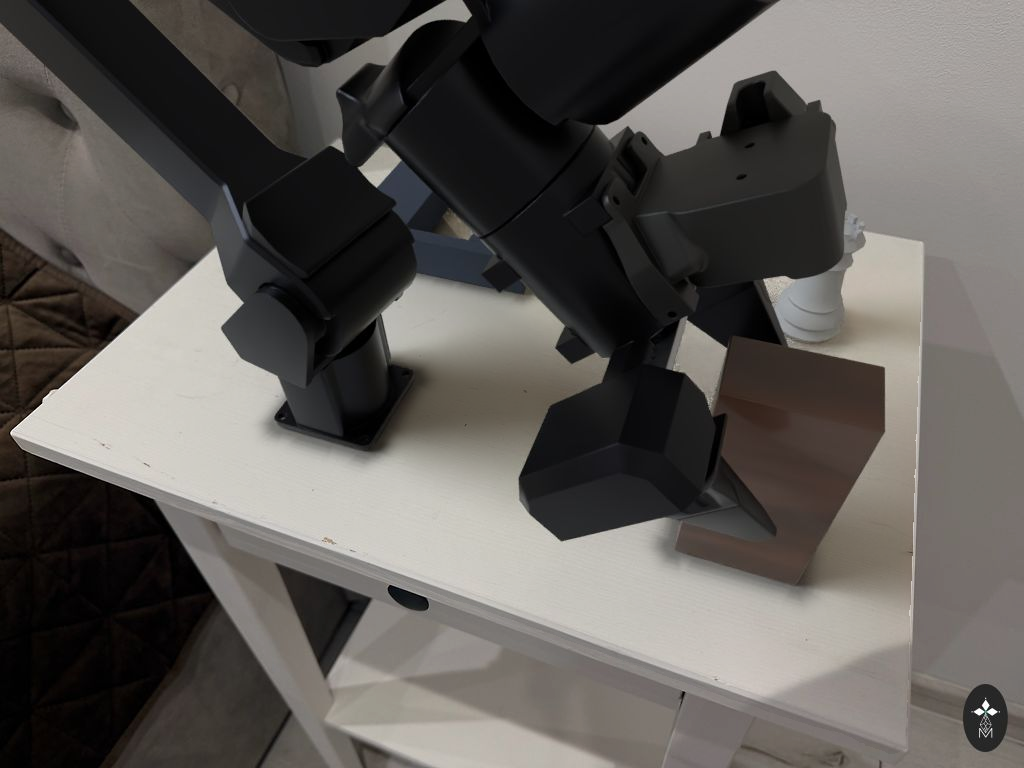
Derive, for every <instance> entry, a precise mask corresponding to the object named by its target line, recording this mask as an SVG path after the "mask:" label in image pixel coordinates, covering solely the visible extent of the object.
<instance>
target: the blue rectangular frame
mask: <svg viewBox="0 0 1024 768" xmlns="http://www.w3.org/2000/svg"><path fill="white" fill-rule="evenodd" d="M376 188H378V189H379V190H380V191H381V192H383V193H384V194H386V195H388V196H389V197H391V198H393V199H394V200H395V201H396V203H397V205H396V206H395V207H394V208H392V209H393V210H394V211H395V212H396V213H397V214H398V215H399V216H400V217H401V218H402V220H403V221H404V222H405V223H406V225H407V226H408V228H409V229H410V231H411V233H412V234H413V236H414V239H415V244H414V245H413V248H414V252H415V256H416V259H417V274H418V273H419V274H422V275H423V274H424V275H428V276H433V277H438V278H442V279H447V280H452V281H456V282H462V283H467V284H471V285H475V286H479V287H484V288H485V287H486V288H490V289H494V290H496V289H495V288H494V287H493V286H492V285H491V284H490V283H489V282H488V281H487V280H486V279H485V278H484V277H483V276H482V275H481V273H482V272H483V270H484V268H485V267H486V265H487V264H488V262H489V260H490V259H491V257H492V255H493V253H492V252H491V251H490V250H489V248H488V247H487V246H486V245H485V244H484V243H483V242H482V241H481V240H480V239H479V238H478V237H477V236H476V235H475V234H474V233H473V232H472V233H471V235H470V237H469V238H468V239H466V238H460V237H455V236H450V235H445V234H441V233H435V232H433V230H434V229H435V227H436V226H437V224H438V223H439V222H440V221H441V219H442V218H443V217H444V215H445V214H446V213H447V211H448V210H449V208H448V207H447V206H446V205H445V204H444V203H443V202H442V201H441V200H440V199H439V198H438V197H437V196H436V195H435V194H434V192H433V191H432V190H431V189H430V188H429V187H428V186H427V185H426V184H425V183H424V182H423V181H422V180H421V179H420V178H419V177H418V176H417V175H416V174H415V173H414V172H413V171H412V170H411V169H410V168H409V167H408V166H407V165H406V164H405V163H404V162H403V161H402V160H401V159H400V161H399V162H398V164H397V165H395V167H394V168H393V169H392V170H391V171H390V172H389V174H387V176H386V177H385V178H384V179H383V180H382V181H381V183H379V184H378V186H376ZM527 289H528V288H527V287H526V286H525V285H524V284H523V283H522V282H521V281H520V280H519V281H517V282H516V283H514V284H513V285H511V286H510V287H508V288H506V289H505V290H503V291H505V292H509V293H514V294H519V295H524V293H525V291H526V290H527Z"/></svg>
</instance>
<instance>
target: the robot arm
mask: <svg viewBox="0 0 1024 768" xmlns="http://www.w3.org/2000/svg"><path fill="white" fill-rule="evenodd" d="M207 1H208V2H209V3H210V4H212V5H213V6H214V7H216V8H217V9H218V10H219V11H221V13H223V14H225V15H226V16H227V17H228V18H229V19H231V20H232V21H233V22H235V23H236V24H237V25H238V26H239V27H240V28H242V29H243V30H244V31H246V32H247V33H249V35H251V36H252V37H254V38H255V39H256V40H258V41H259V42H260V43H261V44H262V45H264V46H265V47H266V48H268V49H269V50H270V51H271V52H272V53H274V54H276V55H277V56H278V57H280V58H282V59H284V60H286V61H288V62H290V63H293V64H295V65H298V66H301V67H305V68H319V67H322V66H323V65H326V64H331V63H332V62H334V61H336V60H338V59H339V58H341V57H343V56H344V55H346V54H348V53H350V52H351V51H353V50H355V49H356V48H359V47H360V46H362V45H364V44H365V43H367V42H369V41H371V40H373V39H374V38H384V37H385V36H387V35H389V34H391V33H392V32H395V31H396V30H398V29H400V28H401V27H403V26H405V25H406V24H408V23H409V22H411V21H414V20H415V19H417V18H418V17H420V16H422V15H423V14H425V13H427V12H429V11H431V10H432V9H434V8H436V7H437V6H439V5H442V4H443V3H445V2H447V0H207ZM461 1H462V2H463V3H464V5H465V7H466V9H467V10H468V11H469V14H470V15H471V16H470V17H469V18H468V19H467V20H466V21H462V20H457V19H450V18H447V19H446V18H445V19H443V18H442V19H436V20H432V21H429V22H426V23H423V24H421V25H420V26H419V27H418V28H416V29H414V30H413V32H412V33H411V34H409V36H408V37H407V39H406V40H405V41H404V43H403V44H402V45H401V46H400V48H399V49H398V50H397V51H396V53H395V54H394V55H393V57H392V58H391V59H390V61H389V62H388V63H387V64H386V65H385V64H377V63H373V62H366V63H364V64H363V65H362V66H361V67H360V68H359V69H358V70H356V71H355V72H354V73H353V74H352V75H351V76H350V77H349V78H347V80H345V81H344V82H343V83H342V84H341V85H340V86H339V87H338V88H337V89H336V90H335V97H336V100H337V103H338V105H339V109H340V112H341V120H342V121H341V122H342V130H341V144H342V148H343V151H342V150H340V149H338V148H336V147H335V146H333V145H327V146H325V147H324V148H322V149H321V150H320V151H317V152H316V153H314V155H312V156H311V157H306V156H304V155H301V154H297V153H294V152H291V151H288V150H285V149H283V148H281V147H279V146H278V145H277V144H276V143H275V142H274V141H272V139H270V138H269V137H268V136H267V135H266V134H265V133H264V132H263V131H262V130H261V129H260V128H259V127H258V126H257V125H256V124H255V123H254V122H253V121H252V120H251V118H250V117H248V116H247V114H245V113H244V112H243V111H242V110H241V109H240V108H239V107H238V106H237V105H236V104H235V102H233V100H231V99H230V98H229V97H228V95H226V94H225V93H224V92H223V91H222V90H221V89H220V87H218V86H217V85H216V83H214V82H213V81H212V79H210V78H209V77H208V76H207V75H206V73H204V72H203V71H202V70H201V69H200V68H199V66H197V65H196V64H195V63H194V62H193V61H192V59H190V58H189V56H187V55H186V54H185V53H184V52H183V50H181V49H180V48H179V47H178V46H177V45H176V44H175V42H173V41H172V39H170V38H169V37H168V36H167V35H166V34H165V33H164V32H163V31H162V30H161V29H160V28H159V27H158V25H156V24H155V23H154V22H153V21H152V20H151V19H150V17H148V16H147V15H146V14H145V13H144V12H143V11H142V9H140V8H139V7H138V6H137V5H136V4H135V3H134V2H133V1H132V0H0V25H2V26H3V27H4V28H5V29H6V30H7V31H8V32H9V33H10V34H11V35H12V36H13V37H14V38H15V39H16V40H17V41H18V42H20V44H22V45H23V47H25V48H26V50H28V51H29V52H30V53H31V54H32V55H33V56H34V57H35V58H36V59H37V60H38V61H39V62H40V63H41V64H42V65H44V66H45V68H47V69H48V70H49V71H50V72H51V73H52V74H53V75H54V76H55V77H57V79H58V80H59V81H60V82H61V83H62V84H64V86H66V88H68V90H69V91H70V92H72V93H73V94H74V95H75V96H76V97H77V98H78V99H79V100H80V101H81V102H82V103H83V104H84V105H85V106H86V107H88V108H89V109H90V110H91V111H92V112H93V113H94V114H95V115H96V117H98V118H99V119H100V120H101V121H102V122H103V123H104V124H105V125H106V126H108V127H109V128H110V129H111V130H112V131H113V132H114V133H115V134H116V135H117V136H118V137H119V138H120V139H121V140H122V141H123V142H124V143H125V144H126V145H128V147H130V148H131V150H132V151H133V152H135V153H136V155H138V156H139V157H140V158H141V159H142V160H143V161H144V162H145V163H146V164H147V165H148V166H149V167H151V169H153V170H154V171H155V173H156V174H158V175H159V176H160V177H161V178H162V179H163V180H164V181H165V182H166V183H167V184H168V185H169V186H171V188H172V189H174V190H175V192H177V193H178V194H179V195H180V196H181V197H182V198H183V199H184V200H185V201H186V202H187V203H188V205H191V207H192V208H193V209H194V210H195V211H197V213H199V214H200V215H201V216H202V217H203V219H204V220H205V221H206V222H207V223H208V224H209V225H210V229H211V231H212V236H213V239H214V243H215V246H216V251H217V254H218V257H219V261H220V264H221V265H220V266H221V268H222V272H223V275H224V279H225V282H226V284H227V286H228V287H229V289H230V290H231V291H232V292H233V293H234V294H235V295H236V296H237V297H238V298H239V300H240V301H241V302H242V304H241V305H240V306H239V307H238V308H237V309H236V310H235V312H234V313H233V314H231V315H230V317H229V318H228V319H227V320H226V321H225V322H224V323H223V324H222V325H221V327H220V330H221V332H222V334H223V335H224V337H225V338H226V339H227V341H228V342H229V344H230V345H231V347H232V348H233V349H234V351H235V352H236V354H237V355H238V357H239V358H240V359H241V360H242V361H244V362H247V363H249V364H251V365H253V366H254V367H257V368H259V369H262V370H263V371H265V372H268V373H270V374H273V375H274V376H277V379H278V381H279V383H280V386H281V388H282V391H283V393H284V396H285V398H286V400H284V402H283V404H282V405H281V406H280V407H279V409H278V410H277V411H276V413H275V414H274V421H275V424H276V425H277V426H278V427H280V428H284V429H288V430H291V431H294V432H298V433H301V434H304V435H308V436H312V437H315V438H318V439H322V440H326V441H328V442H333V443H336V444H339V445H343V446H347V447H350V448H353V449H357V450H360V451H368V450H370V449H371V448H372V447H373V446H374V445H375V443H376V442H377V440H378V438H379V436H380V435H381V433H382V432H383V431H384V428H385V427H386V425H387V424H388V422H389V421H390V419H391V417H392V416H393V414H394V413H395V411H396V409H397V407H398V406H399V404H400V403H401V401H402V400H403V398H404V396H406V393H407V392H408V390H409V389H410V387H411V385H412V384H413V382H414V380H415V375H414V371H413V370H412V369H411V368H408V367H404V366H400V365H396V364H392V362H391V360H392V355H391V350H390V346H389V341H388V338H387V332H386V329H385V324H384V319H383V315H382V313H384V312H385V311H386V310H387V309H388V308H389V307H390V306H391V305H392V304H393V303H394V302H397V301H398V300H400V298H401V297H403V295H404V292H405V291H406V290H407V289H408V288H410V286H411V285H413V283H414V280H415V278H416V277H417V274H418V272H417V259H416V256H415V252H414V248H413V245H414V244H415V239H414V236H413V234H412V233H411V231H410V229H409V228H408V226H407V225H406V223H405V222H404V221H403V220H402V218H401V217H400V216H399V215H398V214H397V213H396V212H395V211H394V210H393V209H392V208H394V207H395V206H396V205H397V203H396V201H395V200H394V199H393V198H391V197H389V196H388V195H386V194H384V193H383V192H381V191H380V190H379V189H378V188H377V186H375V185H374V183H372V182H371V181H370V180H369V179H368V178H367V177H366V176H365V175H364V174H363V173H362V171H361V170H360V168H361V167H363V166H364V164H366V163H367V161H369V160H370V158H371V157H372V156H374V154H375V153H376V152H377V151H378V150H379V149H380V148H381V147H382V146H383V145H384V144H385V145H386V147H388V148H389V149H390V150H391V151H392V152H393V153H394V155H396V156H397V158H399V159H400V161H401V160H402V161H403V162H404V163H405V164H406V165H407V166H408V167H409V168H410V169H411V170H412V171H413V172H414V173H415V174H416V175H417V176H418V177H419V178H420V179H421V180H422V181H423V182H424V183H425V184H426V185H427V186H428V187H429V188H430V189H431V190H432V191H433V192H434V194H435V195H436V196H437V197H438V198H439V199H440V200H441V201H442V202H443V203H444V204H445V205H446V206H447V207H448V210H450V211H451V212H452V213H453V214H454V215H455V216H456V217H457V218H458V219H459V220H460V221H461V222H462V223H463V224H464V225H465V226H466V227H467V228H468V229H469V230H470V231H471V232H472V234H473V233H474V234H475V235H476V236H477V237H478V238H479V239H480V240H481V241H482V242H483V243H484V244H485V245H486V246H487V247H488V248H489V250H490V251H491V252H492V253H493V255H492V257H491V259H490V260H489V262H488V264H487V265H486V267H485V268H484V270H483V272H482V273H481V275H482V276H483V277H484V278H485V279H486V280H487V281H488V282H489V283H490V284H491V285H492V286H493V287H494V288H495V289H494V288H493V289H494V290H495V291H497V293H499V294H501V293H502V292H503V291H504V290H505V289H506V288H508V287H510V286H511V285H513V284H514V283H516V282H517V281H519V280H520V281H521V282H522V283H523V284H524V285H525V286H526V287H527V288H526V289H527V290H528V291H530V293H532V294H533V296H535V297H536V299H537V300H538V301H539V302H541V304H542V305H544V307H545V308H546V309H547V310H548V311H549V312H550V313H551V314H552V315H553V316H554V317H555V318H556V319H557V320H558V321H559V322H560V323H561V324H562V325H563V329H562V330H561V333H560V334H559V337H558V340H557V341H556V344H555V346H554V349H555V350H556V351H557V352H558V353H559V354H560V355H561V356H562V357H563V358H564V359H565V360H566V361H567V362H568V363H569V364H570V365H574V364H577V363H579V362H580V361H582V360H584V359H586V358H588V357H590V356H592V355H594V354H597V355H598V356H599V357H600V358H601V359H609V361H608V363H607V367H606V368H605V371H604V374H603V376H602V379H601V382H599V383H597V384H595V385H593V386H590V387H588V388H586V389H583V390H581V391H579V392H577V393H575V394H572V395H570V396H567V397H565V398H563V399H561V400H559V401H556V402H554V403H552V404H549V406H548V408H547V410H546V412H545V415H544V417H543V419H542V422H541V424H540V426H539V429H538V431H537V433H536V436H535V439H534V441H533V443H532V445H531V448H530V450H529V452H528V455H527V457H526V460H525V462H524V464H523V467H522V468H521V471H520V473H519V475H518V478H517V480H518V500H519V502H520V503H521V504H522V506H523V508H524V510H525V511H526V512H527V513H528V514H529V516H531V518H533V519H534V520H535V521H536V522H538V523H539V524H540V525H541V526H543V527H544V529H546V530H547V531H548V532H549V533H551V534H552V535H553V536H554V537H555V538H556V539H557V540H559V541H560V542H566V541H570V540H574V539H579V538H582V537H587V536H592V535H595V534H599V533H600V534H601V533H603V532H608V531H609V532H610V531H612V530H617V529H621V528H624V527H629V526H634V525H638V524H642V523H646V522H650V521H656V520H658V519H663V518H666V519H670V520H674V521H675V520H676V521H678V522H680V521H681V522H685V523H688V524H692V525H696V526H699V527H703V528H706V529H710V530H713V531H717V532H721V533H724V534H728V535H731V536H735V537H738V538H742V539H745V540H749V541H762V540H768V539H773V538H775V537H776V533H777V528H776V526H775V524H774V523H773V521H772V520H771V518H770V517H769V515H768V513H767V512H766V510H765V509H764V507H763V506H762V505H761V504H760V502H759V501H758V500H757V499H756V497H755V496H754V495H753V494H752V492H751V491H750V490H749V489H748V488H747V486H746V485H745V484H744V483H743V481H742V480H741V479H740V478H739V476H738V475H737V474H736V473H735V472H734V470H733V469H732V468H731V467H730V465H729V464H728V463H727V462H726V460H725V459H724V458H723V457H722V456H721V450H722V445H723V440H724V435H725V430H726V425H727V420H728V416H727V414H726V413H723V414H720V415H717V416H714V417H712V415H711V412H710V408H711V407H710V406H709V402H708V399H707V396H706V393H704V392H703V391H702V390H701V389H700V387H699V386H698V385H697V384H696V383H695V382H694V381H693V380H692V379H691V378H690V377H689V376H688V375H687V373H685V372H684V371H683V372H682V371H678V370H674V367H675V364H676V360H677V356H678V352H679V349H680V346H681V342H682V339H683V335H684V331H685V328H686V325H687V322H688V323H690V324H691V325H693V326H695V327H696V328H697V329H698V330H700V331H701V332H703V333H704V334H706V335H707V336H708V337H709V338H711V339H713V340H714V341H716V342H717V343H718V344H720V345H721V346H722V347H724V348H725V349H727V347H728V343H729V339H730V337H731V335H734V336H739V337H744V338H748V339H753V340H758V341H763V342H768V343H772V344H777V345H782V346H787V347H790V346H789V343H788V341H787V339H786V335H785V334H784V333H783V331H782V328H781V325H780V323H779V320H778V318H777V315H776V312H775V310H774V305H773V303H772V299H771V297H770V294H769V292H768V288H767V286H766V283H765V280H767V279H774V278H780V277H786V278H788V279H791V280H796V279H802V278H808V277H813V276H816V275H819V274H822V273H824V272H826V271H828V270H830V269H832V268H833V267H834V266H835V265H837V264H838V263H839V262H840V260H841V259H842V257H843V254H844V223H845V219H846V211H847V210H848V201H847V196H846V192H845V185H844V180H843V175H842V168H841V164H840V158H839V153H838V147H837V141H836V136H837V135H836V134H837V124H836V122H835V120H834V119H832V116H831V115H830V114H829V113H827V112H825V111H824V110H823V105H822V100H821V99H818V100H813V101H810V102H808V103H806V102H805V99H803V98H802V97H801V96H800V95H799V94H798V92H797V91H796V90H794V88H793V87H792V86H791V85H790V84H789V83H788V82H787V81H786V80H785V79H784V77H782V75H781V74H780V73H778V71H777V70H769V71H766V72H762V73H760V74H757V75H753V76H751V77H746V78H744V79H741V80H738V81H736V82H734V83H733V84H732V88H731V91H730V94H729V97H728V100H727V103H726V107H725V111H724V115H723V120H722V124H721V128H720V131H719V132H720V133H719V135H718V136H712V132H711V130H707V131H704V132H700V133H699V134H698V137H697V140H696V142H695V145H693V146H690V147H688V148H684V149H682V150H679V151H676V152H673V153H670V154H667V155H665V154H664V153H662V151H661V150H659V149H658V148H657V147H656V145H655V144H654V143H653V141H652V140H651V139H650V138H649V136H647V134H646V133H644V132H643V131H641V130H638V131H636V132H634V130H632V129H631V127H630V126H629V125H627V126H625V127H624V128H623V129H621V130H620V131H619V132H618V133H616V134H615V135H613V136H612V137H610V138H609V137H608V136H607V135H606V134H605V133H604V132H603V131H602V129H601V128H600V127H599V126H607V125H609V124H612V123H614V122H617V121H619V120H620V119H622V118H623V117H624V116H626V115H627V114H628V113H629V112H631V111H633V110H634V109H635V108H637V107H638V106H639V105H640V104H642V103H643V102H645V101H646V100H647V99H649V98H650V97H651V96H653V95H654V94H656V93H657V92H658V91H659V90H661V89H662V88H664V87H665V86H667V85H668V84H669V83H670V82H671V81H673V80H674V79H675V78H677V77H679V76H680V75H681V74H682V73H684V72H685V71H687V70H688V69H690V68H691V67H693V65H695V64H696V63H698V62H699V61H701V59H703V58H704V57H706V56H707V55H708V54H709V53H711V52H712V51H713V50H714V51H715V49H716V48H718V47H719V46H720V45H722V44H724V43H725V42H726V41H727V40H728V39H730V38H731V37H733V36H734V35H736V33H738V32H740V31H741V30H742V29H744V28H745V27H746V26H748V25H749V24H751V23H752V22H753V21H754V20H756V19H757V18H758V17H760V16H762V15H763V14H764V13H765V12H767V11H768V10H769V9H771V8H772V7H773V6H775V5H776V4H777V3H779V2H780V1H781V0H461Z"/></svg>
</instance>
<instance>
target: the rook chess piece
mask: <svg viewBox="0 0 1024 768" xmlns="http://www.w3.org/2000/svg"><path fill="white" fill-rule="evenodd" d="M858 219H859V216H858V215H855V214H854V213H850V214H849V215H848V218H845V223H844V254H843V257H842V259H841V260H840V262H839V263H838V264H837V265H835V266H834V267H833V268H832V269H830V270H828V271H826V272H824V273H822V274H819V275H816V276H813V277H808V278H802V279H794V281H793V282H791V283H789V285H788V287H786V288H784V289H783V290H782V291H781V292H780V293H779V295H778V297H777V299H776V301H775V304H774V305H773V307H774V310H775V312H776V315H777V318H778V320H779V323H780V325H781V328H782V331H783V333H784V336H785V337H787V338H789V339H791V340H794V341H797V342H800V343H805V344H807V343H808V344H816V343H821V342H825V341H828V340H830V339H832V338H834V336H836V335H838V334H839V333H840V331H841V328H842V322H843V320H844V318H845V316H846V310H845V309H846V308H845V306H844V297H843V294H842V288H843V284H844V278H845V274H846V272H847V269H849V268H851V267H852V266H853V264H854V261H855V260H854V257H853V254H854V253H856V252H858V251H860V250H862V249H863V248H864V247H865V245H866V243H867V240H866V237H865V233H864V229H865V228H866V225H865V222H864V221H858Z"/></svg>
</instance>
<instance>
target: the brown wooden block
mask: <svg viewBox="0 0 1024 768" xmlns="http://www.w3.org/2000/svg"><path fill="white" fill-rule="evenodd" d="M709 408H710V412H711V415H712V417H714V416H717V415H720V414H723V413H726V414H727V416H728V420H727V425H726V430H725V435H724V440H723V445H722V450H721V456H722V457H723V458H724V459H725V460H726V462H727V463H728V464H729V465H730V467H731V468H732V469H733V470H734V472H735V473H736V474H737V475H738V476H739V478H740V479H741V480H742V481H743V483H744V484H745V485H746V486H747V488H748V489H749V490H750V491H751V492H752V494H753V495H754V496H755V497H756V499H757V500H758V501H759V502H760V504H761V505H762V506H763V507H764V509H765V510H766V512H767V513H768V515H769V517H770V518H771V520H772V521H773V523H774V524H775V526H776V528H777V533H776V537H775V538H773V539H768V540H762V541H749V540H745V539H742V538H738V537H735V536H731V535H728V534H724V533H721V532H717V531H713V530H710V529H706V528H703V527H699V526H696V525H692V524H688V523H685V522H681V521H679V525H678V529H677V534H676V539H675V543H674V547H673V549H674V551H676V552H679V553H682V554H686V555H689V556H693V557H696V558H699V559H704V560H707V561H710V562H713V563H717V564H720V565H723V566H727V567H731V568H733V569H737V570H741V571H745V572H747V573H751V574H755V575H758V576H761V577H765V578H768V579H771V580H775V581H778V582H782V583H786V584H789V585H792V586H797V584H798V583H799V582H800V579H801V577H802V576H803V574H804V572H805V570H806V569H807V568H808V565H809V563H810V562H811V561H812V558H813V557H814V555H815V554H816V551H817V550H818V548H819V546H820V544H821V543H822V542H823V540H824V538H825V537H826V534H827V533H828V531H829V529H830V527H831V526H832V524H833V522H834V521H835V519H836V517H837V516H838V513H840V510H841V508H843V505H844V504H845V502H846V500H847V498H848V496H850V493H851V491H852V490H853V488H854V486H855V485H856V483H857V481H858V479H859V478H860V476H861V474H862V473H863V470H864V469H865V467H866V466H867V464H868V462H869V461H870V459H871V457H872V455H873V454H874V452H875V450H876V448H877V447H878V445H879V443H880V441H881V440H882V438H883V436H884V435H885V433H886V368H885V366H882V365H878V364H872V363H867V362H862V361H858V360H853V359H848V358H844V357H839V356H834V355H831V354H830V355H829V354H825V353H820V352H816V351H810V350H806V349H801V348H796V347H792V346H789V347H787V346H782V345H777V344H772V343H768V342H763V341H758V340H753V339H748V338H744V337H739V336H734V335H731V337H730V339H729V343H728V347H727V348H726V351H725V354H724V358H723V362H722V365H721V369H720V371H719V376H718V380H717V383H716V387H715V390H714V394H713V398H712V401H711V404H710V407H709Z"/></svg>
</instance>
